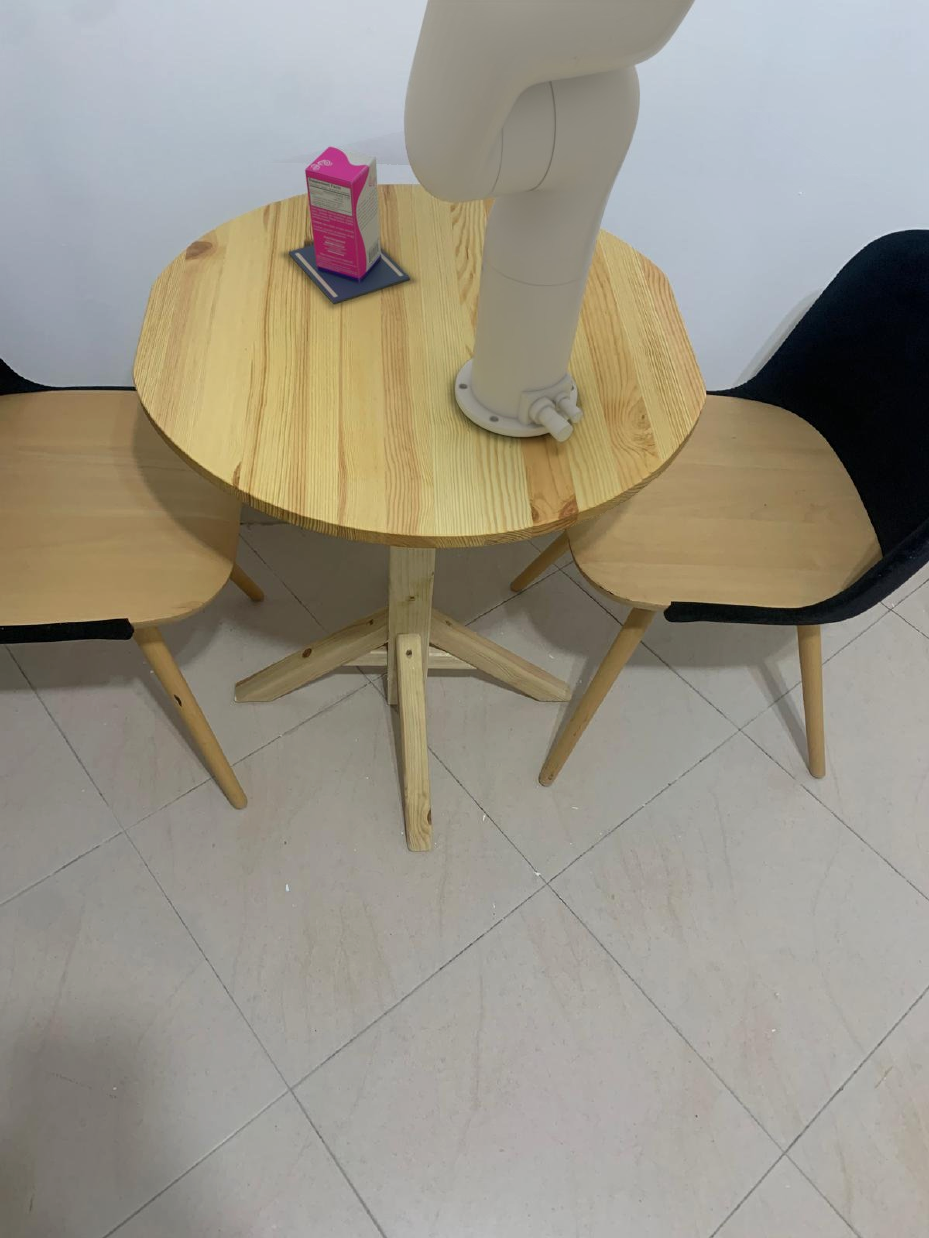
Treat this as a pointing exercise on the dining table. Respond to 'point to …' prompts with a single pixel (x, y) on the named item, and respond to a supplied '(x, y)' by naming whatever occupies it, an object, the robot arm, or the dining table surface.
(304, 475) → the dining table surface
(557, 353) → the robot arm
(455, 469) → the dining table surface
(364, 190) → the supplement box
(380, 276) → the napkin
